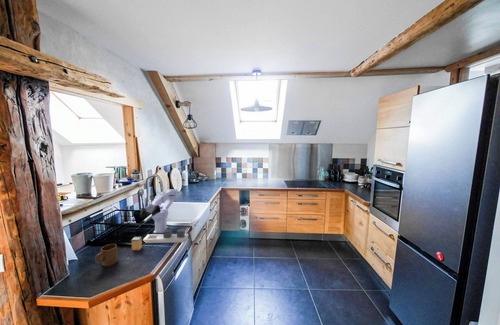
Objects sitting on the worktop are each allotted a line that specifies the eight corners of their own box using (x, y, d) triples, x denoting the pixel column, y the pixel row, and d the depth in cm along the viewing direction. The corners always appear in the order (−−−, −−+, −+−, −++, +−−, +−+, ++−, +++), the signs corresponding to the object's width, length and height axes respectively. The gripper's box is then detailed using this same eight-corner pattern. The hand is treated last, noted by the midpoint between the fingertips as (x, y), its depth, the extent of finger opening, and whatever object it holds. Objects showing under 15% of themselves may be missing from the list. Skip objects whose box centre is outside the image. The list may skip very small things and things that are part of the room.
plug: (134, 247, 131) (134, 237, 130) (142, 246, 132) (141, 236, 131) (132, 250, 128) (131, 239, 127) (139, 250, 128) (138, 239, 127)
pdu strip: (147, 237, 143) (147, 228, 142) (188, 237, 145) (187, 227, 144) (143, 243, 136) (142, 233, 135) (185, 242, 138) (185, 232, 137)
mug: (102, 273, 107) (100, 256, 105) (90, 270, 108) (89, 254, 107) (121, 259, 118) (120, 244, 117) (110, 257, 120) (109, 242, 119)
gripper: (143, 202, 143) (133, 212, 130) (163, 198, 143) (155, 208, 130) (146, 210, 145) (137, 221, 132) (166, 207, 145) (158, 217, 132)
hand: (146, 215), depth 131 cm, fingers open, 7 cm apart
